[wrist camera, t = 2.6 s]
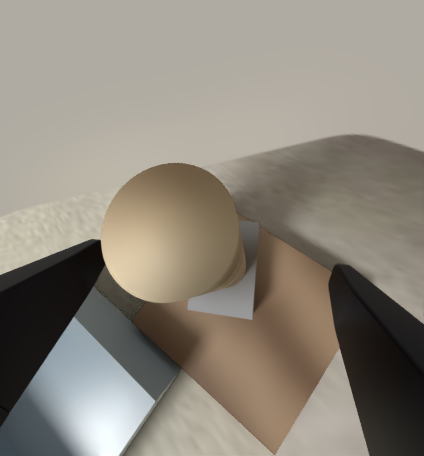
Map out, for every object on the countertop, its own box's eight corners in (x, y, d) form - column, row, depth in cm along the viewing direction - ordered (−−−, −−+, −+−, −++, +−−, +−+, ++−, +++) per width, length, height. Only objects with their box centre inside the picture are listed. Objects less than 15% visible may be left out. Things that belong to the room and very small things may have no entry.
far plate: (272, 440, 14) (274, 455, 13) (139, 318, 17) (131, 321, 16) (361, 294, 15) (370, 295, 14) (220, 206, 18) (218, 201, 17)
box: (69, 533, 14) (-7, 639, 10) (-19, 402, 18) (-106, 441, 13) (181, 368, 16) (155, 401, 11) (80, 273, 19) (30, 271, 15)
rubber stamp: (251, 314, 15) (260, 434, 3) (195, 306, 15) (36, 378, 4) (258, 229, 16) (280, 95, 5) (205, 225, 17) (109, 101, 5)
